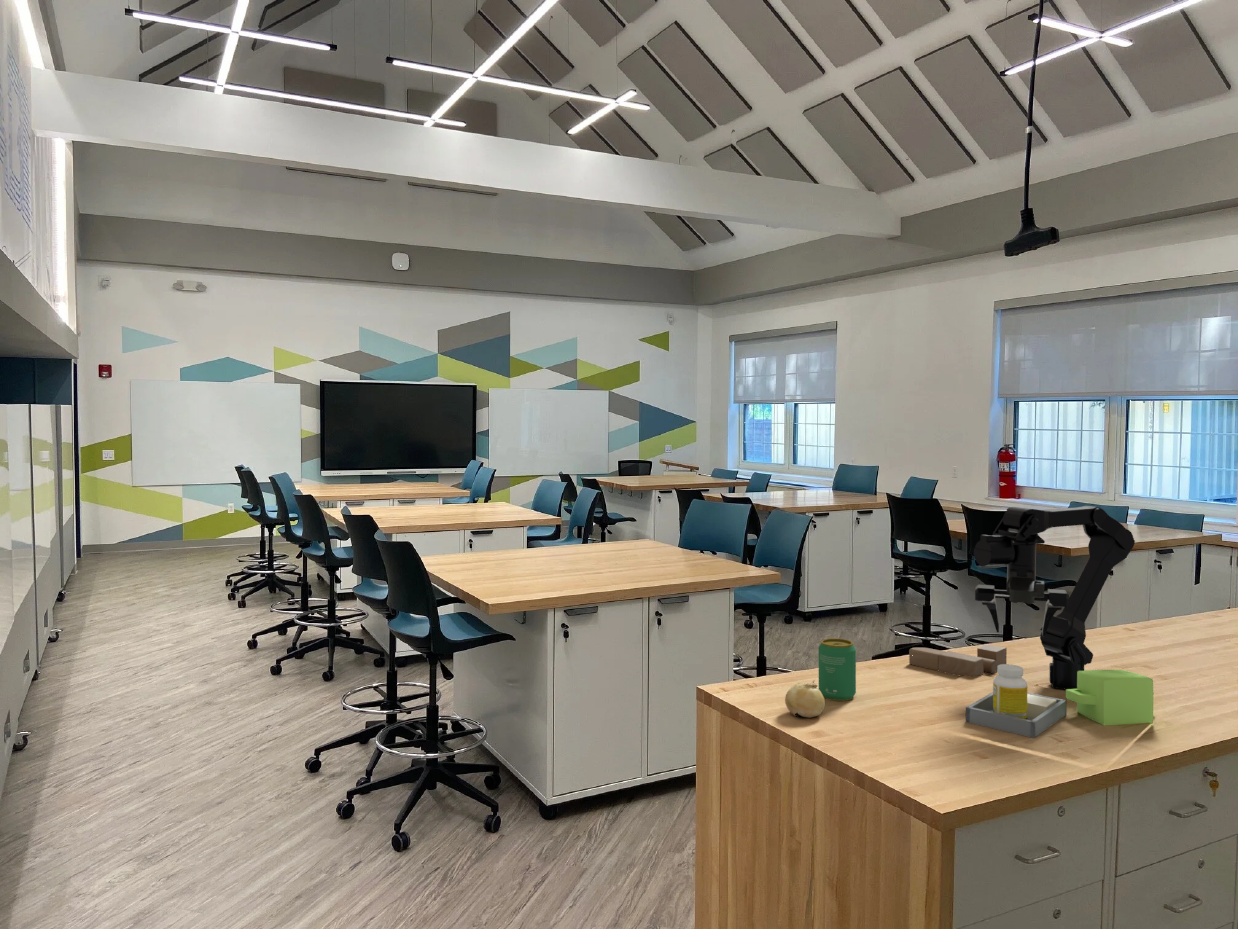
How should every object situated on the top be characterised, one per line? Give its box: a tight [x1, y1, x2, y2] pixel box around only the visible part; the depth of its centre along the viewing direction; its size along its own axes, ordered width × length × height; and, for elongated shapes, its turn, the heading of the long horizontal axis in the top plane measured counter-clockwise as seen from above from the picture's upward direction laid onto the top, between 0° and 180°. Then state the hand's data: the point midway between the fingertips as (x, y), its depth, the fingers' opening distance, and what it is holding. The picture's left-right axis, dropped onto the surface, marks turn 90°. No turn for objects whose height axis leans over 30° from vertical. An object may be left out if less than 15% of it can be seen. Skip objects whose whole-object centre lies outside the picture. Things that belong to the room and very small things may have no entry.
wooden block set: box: [908, 643, 1008, 678], centre depth 212 cm, size 17×6×18 cm
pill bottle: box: [992, 663, 1028, 720], centre depth 170 cm, size 6×6×11 cm
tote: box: [965, 691, 1068, 739], centre depth 172 cm, size 18×13×4 cm
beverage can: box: [818, 638, 857, 702], centre depth 189 cm, size 8×8×12 cm
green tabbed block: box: [1065, 669, 1154, 726], centre depth 173 cm, size 18×10×10 cm, turn 97°
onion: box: [784, 680, 826, 718], centre depth 177 cm, size 8×8×7 cm
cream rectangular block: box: [1027, 694, 1057, 719], centre depth 175 cm, size 6×10×3 cm, turn 45°
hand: (1020, 634), depth 190 cm, fingers open, 9 cm apart
